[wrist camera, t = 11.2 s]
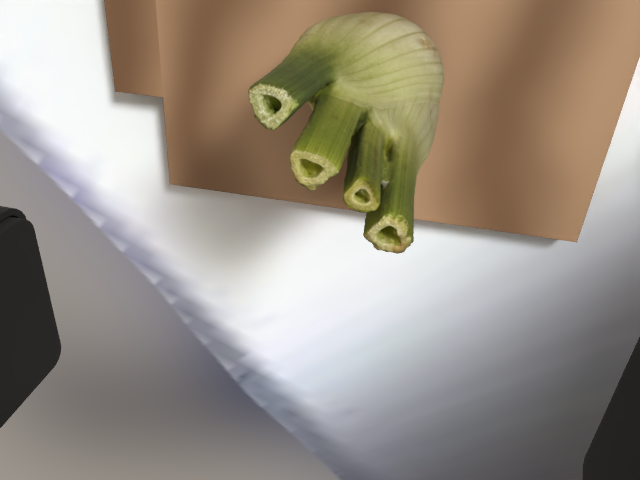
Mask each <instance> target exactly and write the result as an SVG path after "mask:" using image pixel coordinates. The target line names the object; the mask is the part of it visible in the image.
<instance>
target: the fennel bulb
mask: <svg viewBox="0 0 640 480" xmlns="http://www.w3.org/2000/svg"><path fill="white" fill-rule="evenodd" d="M443 83H444V68H443V64H442V60H441V57H440V54H439V51H438V49H437V47H436V44H435V43H434V41H433V40H432V39H431V38H430V37H429V36H428V35H427V34H426V33H425V32H424V30H423V29H421V27H420V26H418V25H417V24H415V23H413V22H411V21H410V20H408V19H406V18H404V17H402V16H399V15H396V14H391V13H381V12H361V13H354V14H347V15H339V16H333V17H330V18H327V19H325V20H323V21H321V22H319V23H316V24H315V25H313V26H311V27H309V28H308V29H307V30H306V31H305V32H304V33H303V34H302V35H301V36H300V38H299V40H298V41H297V42H296V43H295V44H294V46H293V48H292V50H291V51H290V53H289V55H288V56H286V57H285V59H284V60H283V61H282V63H280V64H279V65H278V66H277V67H276V68H274V69H273V70H272V71H271V72H270V73H268V74H267V75H265V76H264V77H263V78H261V79H260V80H258V81H257V82H255V83H254V84H253V85H252V86H251V87H250V88H249V90H248V94H249V102H250V103H251V104H252V106H253V110H254V113H255V114H254V117H255V118H256V119H257V120H258V122H259V123H260V124H261V125H262V126H264V127H265V128H266V129H269V130H273V131H274V130H275V129H277V128H278V127H280V126H281V125H283V124H284V123H285V122H286V121H288V120H289V118H290V117H291V116H292V115H293V114H295V113H296V112H297V110H298V109H300V108H301V107H302V106H303V105H304V104H305V103H306V102H308V104H309V105H310V107H311V109H312V111H313V112H312V114H311V116H310V117H309V120H308V122H307V124H306V126H305V127H304V129H303V130H302V133H301V134H300V136H299V138H298V139H297V141H296V143H295V145H294V147H293V149H292V151H291V153H290V163H291V169H292V172H293V175H294V178H295V180H296V181H297V183H299V184H301V185H302V186H304V187H305V188H307V189H308V190H315V189H316V188H317V187H318V186H319V185H321V184H324V183H325V182H326V181H327V180H328V179H329V178H330V177H333V176H335V175H336V174H338V173H339V171H340V169H341V166H342V164H343V161H344V158H345V156H346V154H347V150H348V148H349V150H348V157H347V170H346V176H345V178H344V189H343V202H344V203H345V204H346V206H347V207H349V208H352V209H354V210H355V211H358V212H367V214H366V218H365V227H364V234H363V235H364V237H365V238H366V239H367V240H368V241H370V242H371V243H372V244H373V245H374V247H375V248H376V249H377V250H383V251H386V252H394V253H402V252H404V251H405V249H406V248H407V247H409V246H410V244H411V243H413V239H414V237H413V227H414V225H413V221H414V194H415V186H416V177H417V174H418V172H419V169H420V168H421V166H422V164H423V163H424V161H425V160H426V158H427V157H428V155H429V152H430V150H431V147H432V144H433V140H434V136H435V131H436V127H437V122H438V114H439V103H440V98H441V93H442V88H443Z"/></svg>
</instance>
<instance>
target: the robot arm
mask: <svg viewBox="0 0 640 480" xmlns="http://www.w3.org/2000/svg"><path fill="white" fill-rule="evenodd" d="M60 352H61V344H60V339H59V335H58V330H57V326H56V322H55V318H54V313H53V308H52V304H51V300H50V295H49V291H48V287H47V282H46V278H45V274H44V269H43V265H42V261H41V256H40V252H39V248H38V244H37V239H36V234H35V230H34V227H33V225H32V223H31V222H30V221H28V220H26V217H25V215H24V214H23V213H22V212H21V211H20V210H18V209H14V208H8V207H2V206H0V428H1V427H2V426H3V424H4V423H5V422H6V421H7V420H8V419H9V418H10V417H11V415H12V414H13V413H14V412H15V411H16V410H17V408H18V407H19V406H20V405H21V404H22V403H23V402H24V400H25V399H26V398H27V397H28V396H29V395H30V394H31V393H32V392H33V390H34V389H35V388H36V387H37V386H38V385H39V384H40V383H41V381H42V380H43V379H44V378H45V377H46V376H47V375H48V373H49V372H50V371H51V370H52V369H53V368H54V366H55V365H56V363H57V361H58V359H59V356H60ZM583 480H640V337H639V340H638V342H637V344H636V346H635V348H634V351H633V353H632V355H631V357H630V359H629V362H628V364H627V366H626V368H625V370H624V372H623V375H622V377H621V379H620V381H619V383H618V386H617V388H616V390H615V392H614V394H613V397H612V399H611V401H610V403H609V405H608V408H607V410H606V412H605V414H604V416H603V419H602V421H601V423H600V425H599V427H598V430H597V432H596V434H595V436H594V438H593V441H592V443H591V445H590V447H589V449H588V452H587V454H586V456H585V459H584V464H583Z"/></svg>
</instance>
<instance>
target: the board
mask: <svg viewBox="0 0 640 480" xmlns="http://www.w3.org/2000/svg"><path fill="white" fill-rule="evenodd" d="M104 1H105V10H106V18H107V26H108V35H109V43H110V51H111V60H112V68H113V76H114V85H115V91H116V92H124V93H132V94H140V95H148V96H156V97H163V103H164V115H165V128H166V141H167V154H168V167H169V180H170V184H173V185H180V186H187V187H194V188H201V189H208V190H215V191H222V192H229V193H236V194H243V195H250V196H257V197H264V198H271V199H278V200H285V201H292V202H299V203H306V204H313V205H320V206H327V207H334V208H341V209H348V210H354V209H352V208H349V207H347V206H346V204H345V203H344V202H343V189H344V178H345V176H346V170H347V157H348V150H349V148H348V150H347V154H346V156H345V158H344V161H343V164H342V166H341V169H340V171H339V173H338V174H336V175H335V176H333V177H330V178H329V179H328V180H327V181H326V182H325V183H324V184H321V185H319V186H318V187H317V188H316V189H315V190H308V189H307V188H305V187H304V186H302V185H301V184H299V183H297V181H296V180H295V178H294V175H293V172H292V169H291V163H290V153H291V151H292V149H293V147H294V145H295V143H296V141H297V139H298V138H299V136H300V134H301V133H302V130H303V129H304V127H305V126H306V124H307V122H308V120H309V117H310V116H311V114H312V112H313V111H312V109H311V107H310V105H309V104H308V102H306V103H305V104H304V105H303V106H302V107H301V108H300V109H298V110H297V112H296V113H295V114H293V115H292V116H291V117H290V118H289V120H288V121H286V122H285V123H284V124H283V125H281V126H280V127H278V128H277V129H275V130H274V131H273V130H269V129H266V128H265V127H264V126H262V125H261V124H260V123H259V122H258V120H257V119H256V118H255V117H254V114H255V113H254V110H253V106H252V104H251V103H250V102H249V94H248V90H249V88H250V87H251V86H252V85H253V84H254V83H255V82H257V81H258V80H260V79H261V78H263V77H264V76H265V75H267V74H268V73H270V72H271V71H272V70H273V69H274V68H276V67H277V66H278V65H279V64H280V63H282V61H283V60H284V59H285V57H286V56H288V55H289V53H290V51H291V50H292V48H293V46H294V44H295V43H296V42H297V41H298V40H299V38H300V36H301V35H302V34H303V33H304V32H305V31H306V30H307V29H308V28H309V27H311V26H313V25H315V24H316V23H319V22H321V21H323V20H325V19H327V18H330V17H333V16H339V15H347V14H354V13H361V12H381V13H391V14H396V15H399V16H402V17H404V18H406V19H408V20H410V21H411V22H413V23H415V24H417V25H418V26H420V27H421V29H423V30H424V32H425V33H426V34H427V35H428V36H429V37H430V38H431V39H432V40H433V41H434V43H435V44H436V47H437V49H438V51H439V54H440V57H441V60H442V64H443V68H444V83H443V88H442V93H441V98H440V103H439V114H438V122H437V127H436V131H435V136H434V140H433V144H432V147H431V150H430V152H429V155H428V157H427V158H426V160H425V161H424V163H423V164H422V166H421V168H420V169H419V172H418V174H417V177H416V186H415V194H414V219H418V220H425V221H432V222H439V223H446V224H453V225H460V226H467V227H474V228H481V229H488V230H495V231H502V232H509V233H516V234H523V235H530V236H537V237H544V238H551V239H558V240H565V241H572V242H577V240H578V237H579V234H580V231H581V228H582V225H583V222H584V219H585V217H586V214H587V211H588V208H589V205H590V202H591V199H592V196H593V193H594V190H595V187H596V184H597V181H598V178H599V175H600V172H601V169H602V166H603V163H604V160H605V157H606V154H607V151H608V148H609V145H610V143H611V140H612V137H613V134H614V131H615V128H616V125H617V122H618V119H619V116H620V113H621V110H622V107H623V104H624V101H625V98H626V95H627V92H628V89H629V86H630V83H631V80H632V77H633V74H634V72H635V69H636V66H637V63H638V60H639V57H640V0H104Z"/></svg>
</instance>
